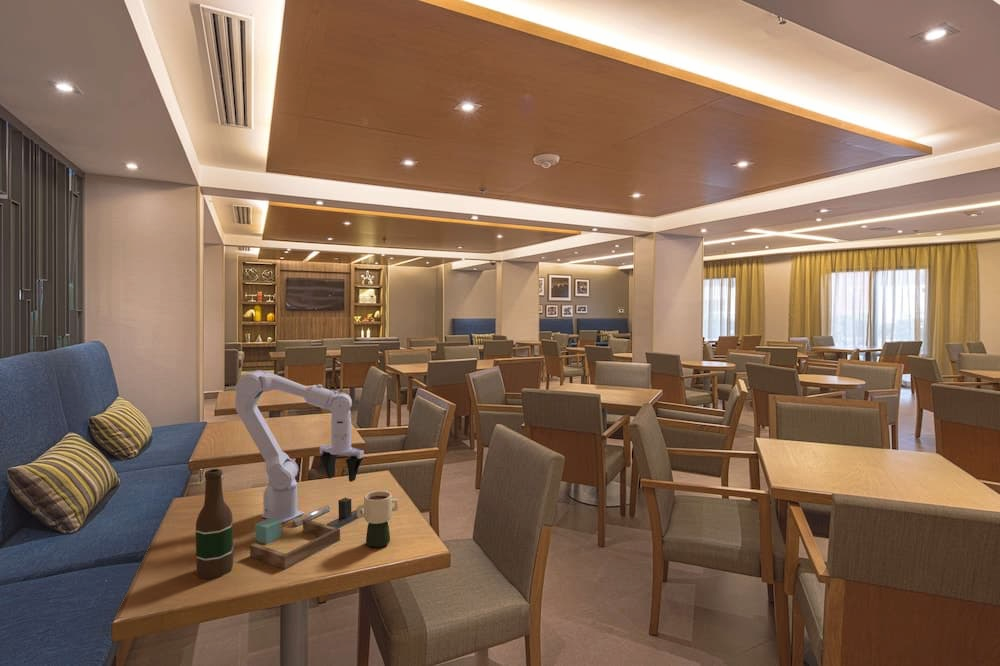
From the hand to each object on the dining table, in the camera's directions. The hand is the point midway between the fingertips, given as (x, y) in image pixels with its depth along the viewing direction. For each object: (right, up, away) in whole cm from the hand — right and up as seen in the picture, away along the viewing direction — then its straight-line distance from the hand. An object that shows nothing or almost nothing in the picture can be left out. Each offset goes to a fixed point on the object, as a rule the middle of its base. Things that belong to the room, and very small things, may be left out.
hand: (341, 479), depth 153 cm
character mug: (+16, -12, -19) cm, 27 cm away
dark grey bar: (+3, -11, -6) cm, 13 cm away
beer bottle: (-19, -12, -33) cm, 40 cm away
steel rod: (-8, -11, -3) cm, 14 cm away
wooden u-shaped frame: (-5, -12, -22) cm, 25 cm away
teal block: (-14, -11, -17) cm, 25 cm away
